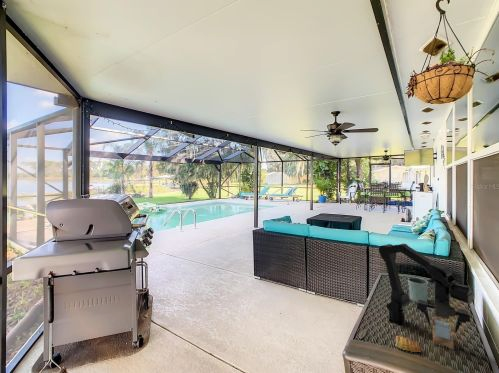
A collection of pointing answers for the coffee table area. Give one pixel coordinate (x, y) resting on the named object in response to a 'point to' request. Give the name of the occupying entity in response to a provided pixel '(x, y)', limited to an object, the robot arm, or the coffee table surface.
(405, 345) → the pastry
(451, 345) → the walnut block
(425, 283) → the drinking glass
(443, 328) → the cube
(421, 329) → the coffee table surface
